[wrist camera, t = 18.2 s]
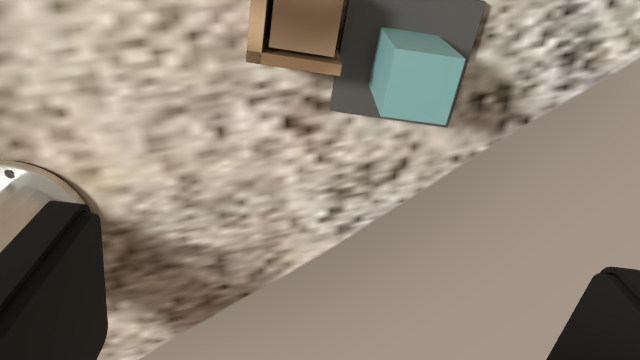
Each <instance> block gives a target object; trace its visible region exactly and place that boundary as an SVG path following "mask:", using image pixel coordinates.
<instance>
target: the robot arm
mask: <svg viewBox="0 0 640 360" xmlns="http://www.w3.org/2000/svg"><path fill="white" fill-rule="evenodd" d="M107 329H108V320H107V306H106V292H105V279H104V265H103V251H102V237H101V224H100V217H99V215H98V214H93V213H90V209H89V207H88V206H87V205H86V204H85V202H84V201H83V200H82V199H81V197H80V196H79V195H78V194H77V192H76V191H74V190H73V189H72V188H71V187H70V186H69V185H68V184H67V183H66V182H64V181H63V180H61V179H60V178H58V177H57V176H55V175H54V174H52V173H50V172H47V171H45V170H43V169H41V168H39V167H36V166H33V165H29V164H26V163H21V162H15V161H0V360H97V357H98V355H99V353H100V351H101V349H102V347H103V345H104V342H105V339H106V335H107ZM547 360H640V271H639V270H635V269H626V268H618V267H606V268H605V269H603V270H602V271H601V272H600V273H599V274H596V275H595V276H594V277H593V278H592V280H591V282H590V283H589V285H588V287H587V289H586V290H585V292H584V294H583V296H582V297H581V299H580V301H579V303H578V305H577V306H576V308H575V310H574V312H573V313H572V315H571V317H570V319H569V321H568V322H567V324H566V326H565V328H564V330H563V331H562V333H561V335H560V336H559V338H558V340H557V342H556V344H555V345H554V347H553V349H552V351H551V352H550V354H549V356H548V358H547Z"/></svg>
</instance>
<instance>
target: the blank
mask: <svg viewBox="0 0 640 360" xmlns="http://www.w3.org/2000/svg"><path fill="white" fill-rule="evenodd" d="M464 63H465V58H464V57H463V56H462V55H461V54H459V53H458V52H457V51H456V50H455V49H454V48H452V47H451V46H450V45H449V44H448V43H447V42H445V41H444V40H443V39H442V38H441V37H440V36H438V35H432V34H425V33H419V32H412V31H406V30H399V29H393V28H386V27H380V32H379V37H378V41H377V46H376V51H375V56H374V61H373V66H372V71H371V76H370V80H369V87H370V90H371V92H372V95H373V98H374V100H375V103H376V106H377V108H378V111H379V114H380V116H382V117H389V118H396V119H404V120H411V121H418V122H426V123H433V124H440V125H446V123H447V120H448V116H449V113H450V110H451V106H452V103H453V100H454V96H455V93H456V90H457V86H458V83H459V80H460V76H461V73H462V70H463V66H464Z"/></svg>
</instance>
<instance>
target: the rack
mask: <svg viewBox="0 0 640 360" xmlns="http://www.w3.org/2000/svg"><path fill="white" fill-rule="evenodd" d="M270 2H271V0H251V7H250V19H249V31H248V43H247V55H246V62H249V63H256V64H262V65H269V66H276V67H282V68H289V69H295V70H302V71H309V72H315V73H322V74H328V75H335V76H340V74H341V68H342V63H341V58H340V54H339V50H337V49H335V48H336V43H337V37H338V31H339V25H340V20H341V14H342V8H343V2H344V0H274V2H273V12H272V21H271V31H270V39H267V31H268V22H269V12H270Z"/></svg>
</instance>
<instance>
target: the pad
mask: <svg viewBox="0 0 640 360" xmlns="http://www.w3.org/2000/svg"><path fill="white" fill-rule="evenodd" d="M485 5H486V2H485V1H480V0H349V1H348V6H347V12H346V18H345V23H344V29H343V34H342V40H341V46H340V51H339V54H340V58H341V63H342V68H341V74H340V76H335V79H334V85H333V91H332V96H331V102H330V111H337V112H344V113H351V114H358V115H365V116H372V117H379V118H386V119H393V120H400V121H407V122H414V123H420V124H427V125H434V126H441V127H448V124H449V121H450V118H451V114H452V111H453V108H454V105H455V102H456V98H457V95H458V92H459V89H460V85H461V82H462V79H463V76H464V73H465V69H466V66H467V63H468V60H469V57H470V53H471V50H472V47H473V44H474V41H475V37H476V34H477V31H478V28H479V25H480V21H481V18H482V15H483V12H484V8H485ZM380 27H386V28H393V29H399V30H406V31H412V32H419V33H425V34H432V35H438V36H440V37H441V38H442V39H443V40H444V41H445V42H447V43H448V44H449V45H450V46H451V47H452V48H454V49H455V50H456V51H457V52H458V53H459V54H461V55H462V56H463V57H464V58H465V63H464V66H463V70H462V73H461V76H460V80H459V83H458V86H457V90H456V93H455V96H454V100H453V103H452V106H451V110H450V113H449V116H448V120H447V123H446V125H440V124H433V123H426V122H418V121H411V120H404V119H396V118H389V117H382V116H380V114H379V111H378V108H377V106H376V103H375V100H374V98H373V95H372V92H371V90H370V87H369V80H370V76H371V71H372V66H373V61H374V56H375V51H376V46H377V41H378V37H379V32H380Z"/></svg>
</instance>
